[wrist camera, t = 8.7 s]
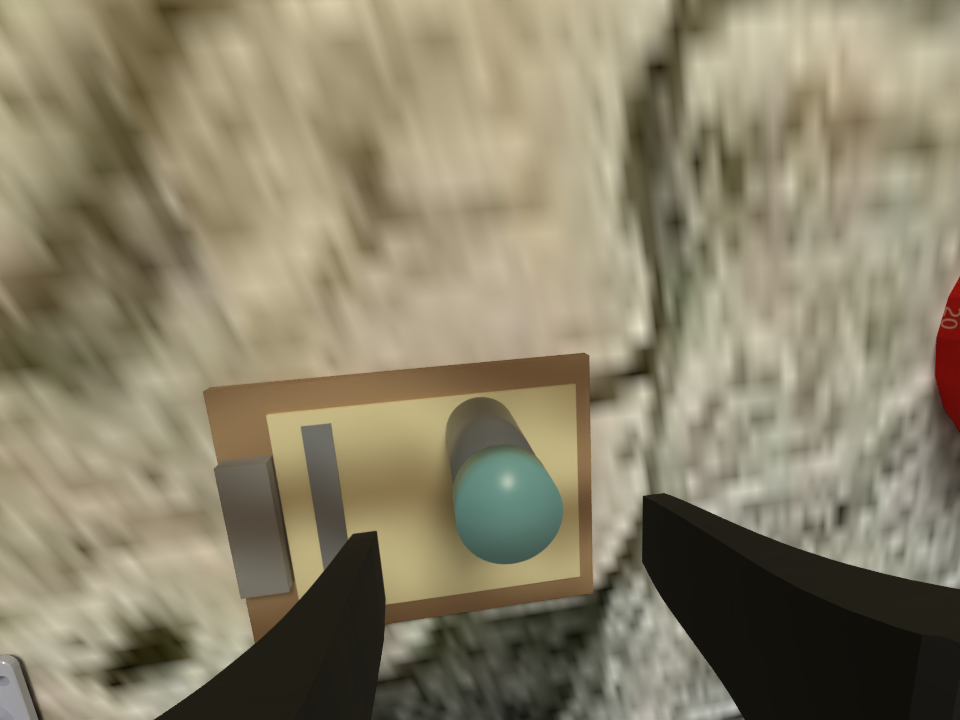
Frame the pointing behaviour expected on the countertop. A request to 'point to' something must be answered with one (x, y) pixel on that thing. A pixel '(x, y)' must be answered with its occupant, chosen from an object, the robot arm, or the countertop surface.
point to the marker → (499, 485)
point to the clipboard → (393, 483)
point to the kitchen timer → (950, 356)
